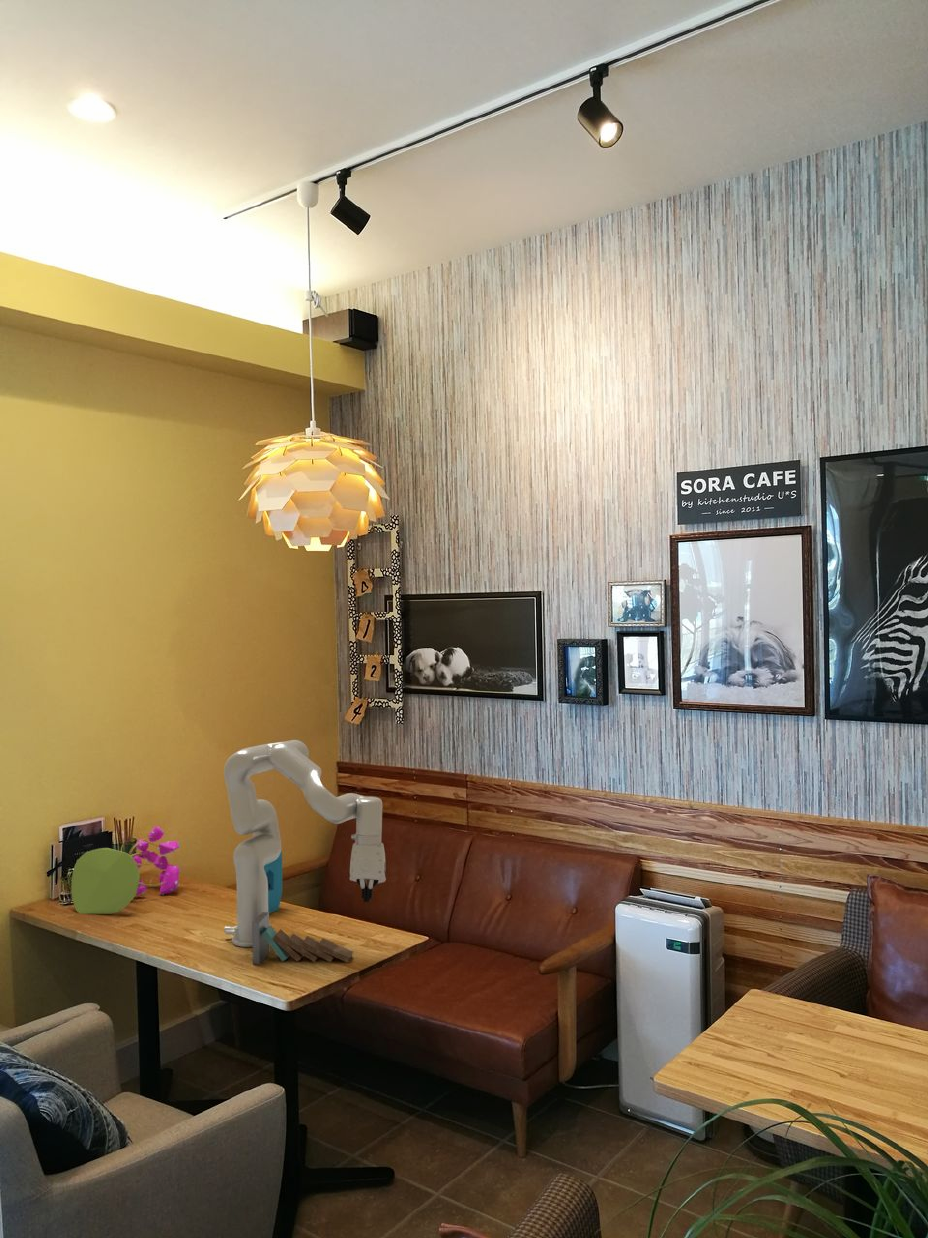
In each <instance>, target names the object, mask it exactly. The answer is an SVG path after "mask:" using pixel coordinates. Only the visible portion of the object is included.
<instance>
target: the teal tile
mask: <svg viewBox="0 0 928 1238" xmlns="http://www.w3.org/2000/svg"><path fill="white" fill-rule="evenodd" d="M277 932H278V931H276V930H275V929H274V927H273V926H272V925H269V927H268V928H267V929H266V930H265V931H264V932H263V933H262V935H263V936H264V937H265V939H266V940H267V941H268V943H269V946H270V947H271V948H272V949H273V951H274V952H275V953H276V955H277V956H278V957H279V959H280V961H281V962H284V961H285V960H287V959H288V957H289V956H290V955H289V954H288V953H287V952H286V951H285V950H284V949H283V948H282V947H281V946H280V945H279V944H277V943H276V942H275V941H274V940H273V939H272V938H273V937H274V936H275V935H276V934H277Z"/></svg>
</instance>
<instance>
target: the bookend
mask: <svg viewBox="0 0 928 1238" xmlns="http://www.w3.org/2000/svg"><path fill="white" fill-rule="evenodd" d="M268 927H270V913H269V912H262V913H261V914H260V915H259V916H258V917H257V918H256V919H255V921H254V922H253V923H252V932H253V947H252V965H260V964H261V963H262V962H263V961H264V960H265V959H266V957H267V956H268V955H269V954H270V951H271V950H270V949H271V948H270V947H271V946H270V944H269V943H268V941H267V940H266V939H265V937H264V936H263V935H262V933H263V932H264V931H265V930H266V929H267V928H268Z"/></svg>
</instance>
